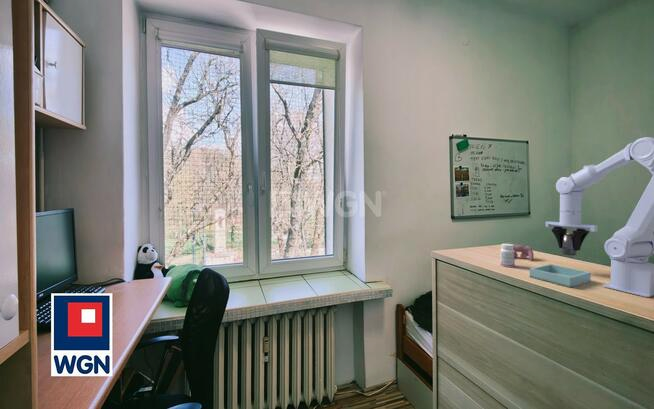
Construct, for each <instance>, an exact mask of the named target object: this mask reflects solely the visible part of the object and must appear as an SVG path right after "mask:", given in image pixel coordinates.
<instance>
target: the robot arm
mask: <svg viewBox="0 0 654 409" xmlns="http://www.w3.org/2000/svg"><path fill="white" fill-rule="evenodd" d="M633 162H638V163H639V164H640V165H641V166H643V167H645V168H646V169H647V170H648V171H649V172H650V173H651V175H652V177H651V179H650V181H649V183H648V184H647V186H646V188H645V189H644V191H643V193H642V195H641V197H640V198H639V201H638V203H637V204H636V206H635V208H634V210H633V211H632V213H631V215H630V216H629V218H628V220H627V222H626V225H625V226H623V227H622V228H620V229H618V230H617V231H615V232H614V233H613V235H612V236H611V237H610V238H609V239H607V240H606V241H605V242H604V245H603V246H604V251H605V253H606V255H607V256H608V257H609V259H610V282H609V283H605V284H603V287H604V288H608V289H611V290H616V291H619V292H624V293H629V294H633V295H637V296H640V297H645V298H651V297H653V296H654V263H652V262H649V257H651V256H653V255H654V234H653V233H654V137H651V136H650V137H649V136H646V137H645V136H644V137H641V138H638V139H636V140H635V141H634V142H630V143H628V144H626V146H625V148H623V149H621V150H619V151H618V152H616V153H615V154H614V155H612V156H610V157H608V158H607V159H605V160H604V161H602V162H600V163H598V164H585V165H584V166H583V168H582V169H581V170H578V171H577V172H574V173H571V174H570V176H569V177H567V176H562V177H560V178H559V179H558V180H557V181H556V183H555V189H556V191H557V192H558V193H559V221H545V227H546V228H551V232H552V233H553V235H554V237H555V239H556V241H557V245H558V248H559V249H562V234H566V233H567V230H572V233H573V235H574V250H575V251H577V252H578V251H581V248H582V245H583V242H584V240H585V239H586V238H587V236H588V235H589V233H590V232H592V233H595V232H598V225H595V224H586V223H585V224H584V223H582V198H583V197H584V192H585V191H586V189H587V188H588V187H590V186H593V185H595V184H597V183H598V182H601V181H602V180H604V179H605V178H606V174H608V173H610V172H612V171H615V170H617V169H619V168H621V167H623V166H626V165H628V164H630V163H633Z"/></svg>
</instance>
